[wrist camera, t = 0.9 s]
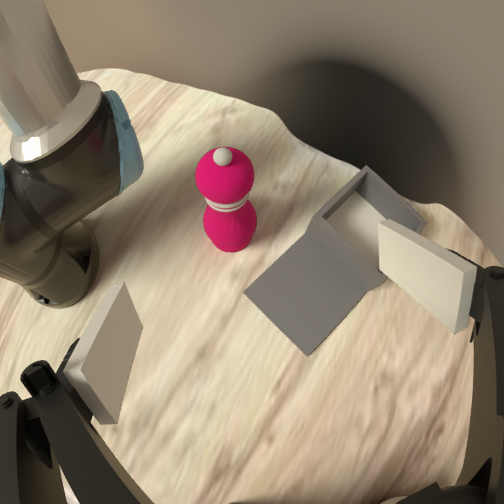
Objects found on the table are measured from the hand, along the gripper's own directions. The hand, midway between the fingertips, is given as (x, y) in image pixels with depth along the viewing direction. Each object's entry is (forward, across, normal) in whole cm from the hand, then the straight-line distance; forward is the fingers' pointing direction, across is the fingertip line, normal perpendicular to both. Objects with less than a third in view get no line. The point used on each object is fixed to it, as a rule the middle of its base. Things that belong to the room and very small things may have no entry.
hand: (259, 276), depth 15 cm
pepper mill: (+31, -1, -7) cm, 31 cm away
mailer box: (+26, +13, -14) cm, 32 cm away
